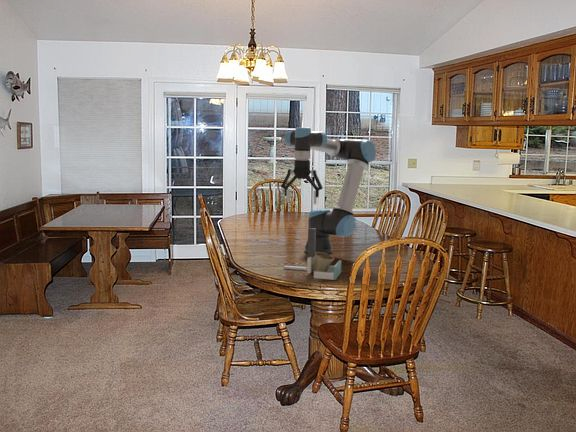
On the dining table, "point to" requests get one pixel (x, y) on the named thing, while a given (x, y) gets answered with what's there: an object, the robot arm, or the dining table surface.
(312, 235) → the paddle
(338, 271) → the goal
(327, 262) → the flower pot
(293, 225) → the dining table surface
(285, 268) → the track
